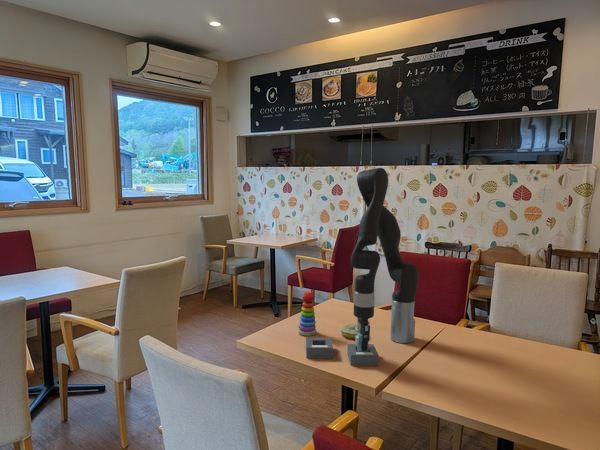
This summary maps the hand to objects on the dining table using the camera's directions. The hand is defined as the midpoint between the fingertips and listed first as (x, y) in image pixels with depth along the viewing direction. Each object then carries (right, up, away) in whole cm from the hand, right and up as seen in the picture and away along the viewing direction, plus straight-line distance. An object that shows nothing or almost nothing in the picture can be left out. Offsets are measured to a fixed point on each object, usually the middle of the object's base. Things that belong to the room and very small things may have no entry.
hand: (362, 346), depth 153 cm
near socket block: (0, -5, +1) cm, 5 cm away
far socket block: (-16, -4, +6) cm, 18 cm away
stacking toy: (-20, -2, +26) cm, 33 cm away
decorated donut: (0, -3, +25) cm, 25 cm away
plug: (0, -5, +1) cm, 5 cm away
